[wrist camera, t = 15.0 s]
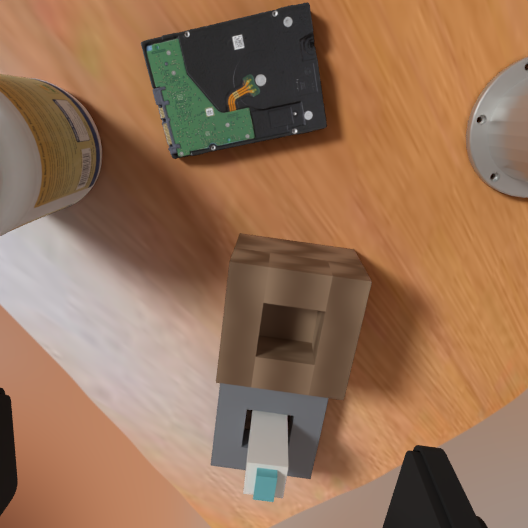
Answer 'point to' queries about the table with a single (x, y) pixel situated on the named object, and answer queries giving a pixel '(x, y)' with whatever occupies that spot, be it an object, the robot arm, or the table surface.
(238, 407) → the lower socket plate
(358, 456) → the table surface
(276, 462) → the plug peg
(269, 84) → the disk drive
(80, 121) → the supplement tub
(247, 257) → the upper socket tower
